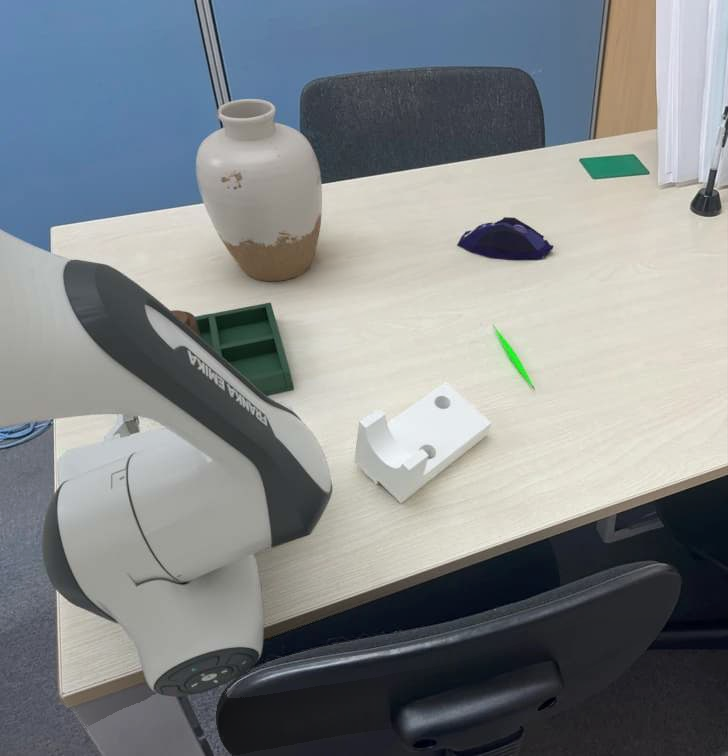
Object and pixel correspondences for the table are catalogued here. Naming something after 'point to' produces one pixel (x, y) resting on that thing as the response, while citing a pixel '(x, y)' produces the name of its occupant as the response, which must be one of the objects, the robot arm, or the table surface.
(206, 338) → the grid
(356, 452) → the bracket
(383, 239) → the table surface
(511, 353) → the leaf
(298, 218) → the vase
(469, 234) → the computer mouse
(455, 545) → the table surface
